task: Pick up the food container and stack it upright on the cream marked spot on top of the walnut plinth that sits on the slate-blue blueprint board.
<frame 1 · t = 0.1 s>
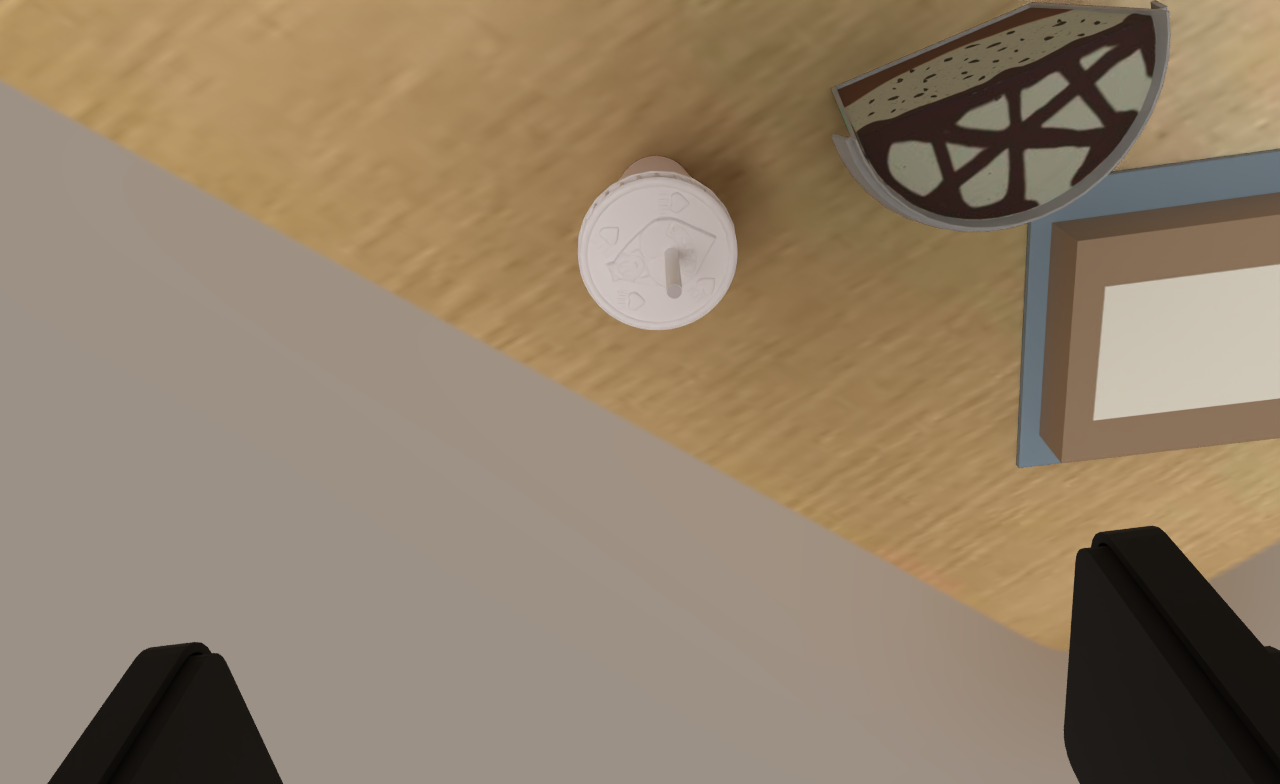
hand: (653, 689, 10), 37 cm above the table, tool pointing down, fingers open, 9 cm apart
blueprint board: (1200, 311, 47), on the table
smoothie: (655, 193, 45), on the table
food container: (945, 109, 43), on the table
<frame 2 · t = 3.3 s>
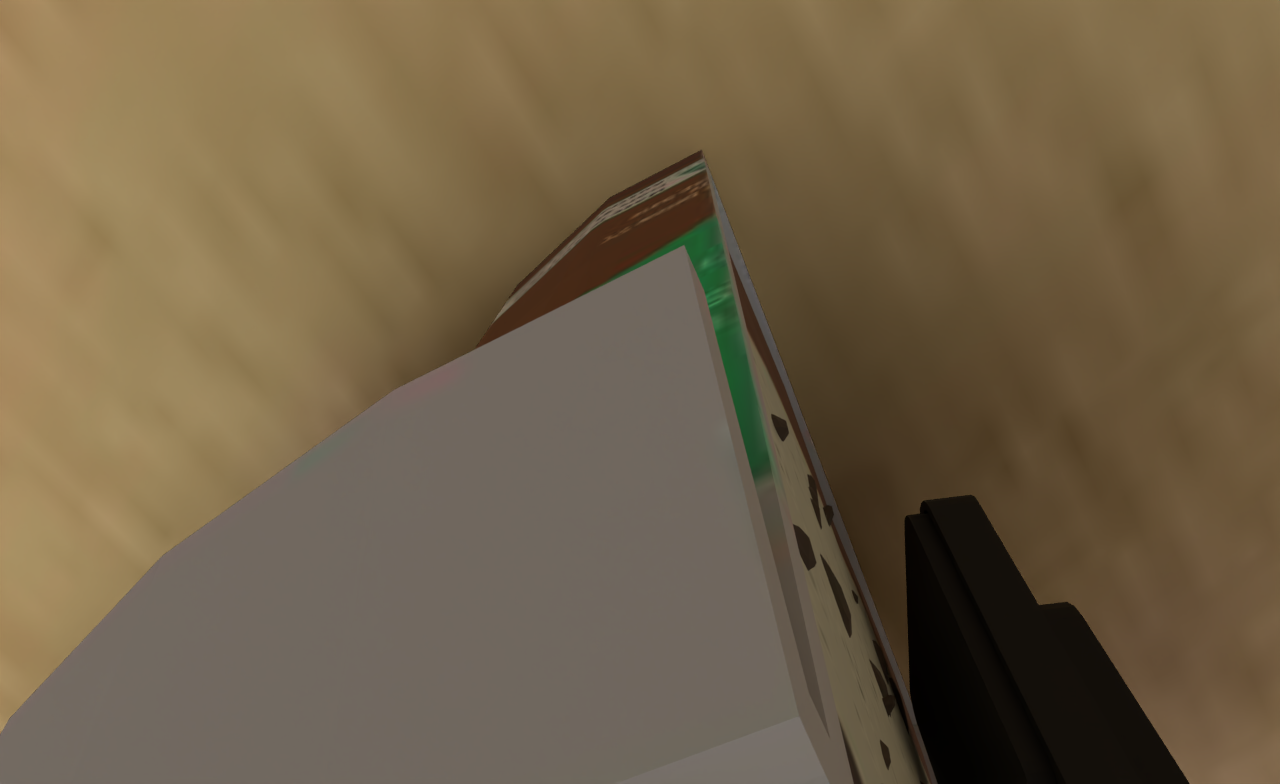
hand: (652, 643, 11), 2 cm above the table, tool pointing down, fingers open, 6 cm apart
food container: (613, 545, 13), on the table, touching gripper
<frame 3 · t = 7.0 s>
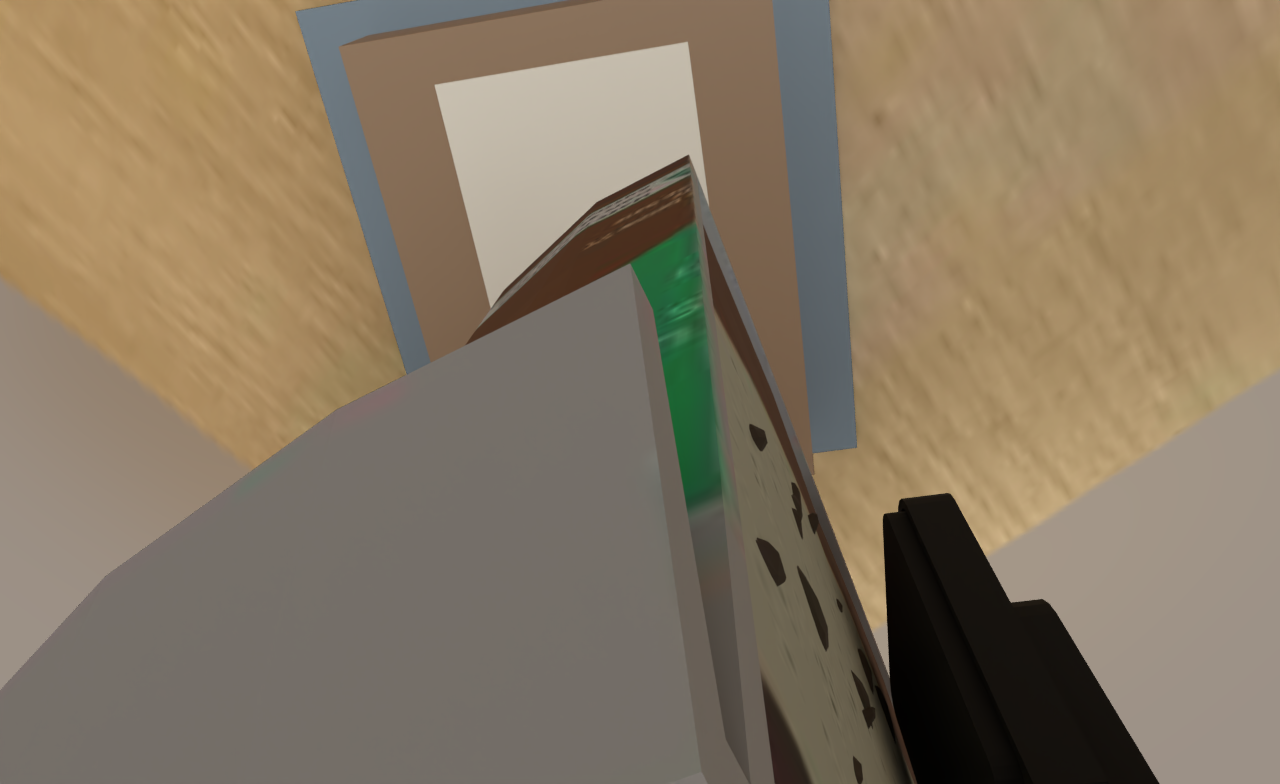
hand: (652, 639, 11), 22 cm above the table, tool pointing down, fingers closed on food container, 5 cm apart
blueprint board: (606, 249, 32), on the table
food container: (602, 551, 13), point 20 cm above the table, touching gripper
when the fingers open (7 cm above the table, at t = 10.5 s): food container drops 1 cm, resting on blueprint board.
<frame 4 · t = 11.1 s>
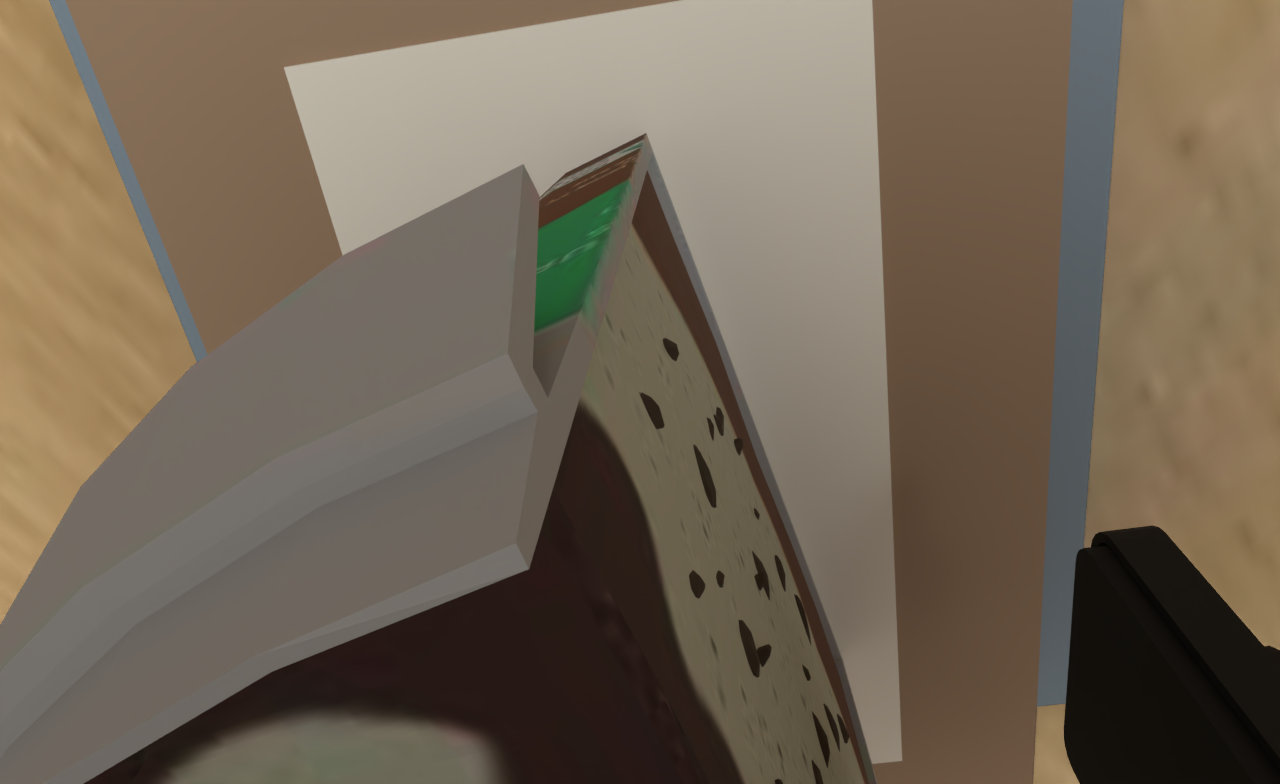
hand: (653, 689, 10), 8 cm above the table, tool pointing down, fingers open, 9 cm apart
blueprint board: (650, 379, 17), on the table
food container: (568, 488, 14), point 3 cm above the table, touching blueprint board
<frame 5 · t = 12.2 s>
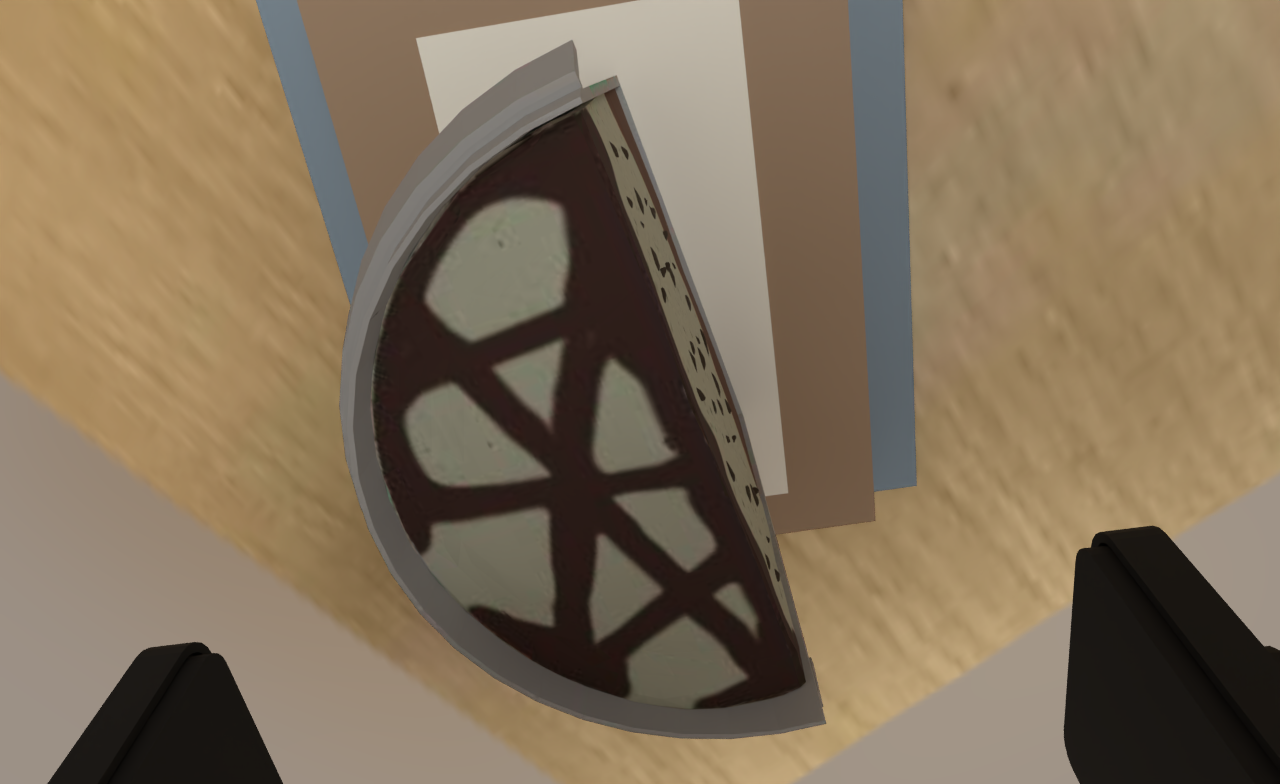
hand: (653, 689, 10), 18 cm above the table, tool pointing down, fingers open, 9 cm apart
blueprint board: (623, 250, 26), on the table
food container: (571, 299, 23), point 3 cm above the table, touching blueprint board
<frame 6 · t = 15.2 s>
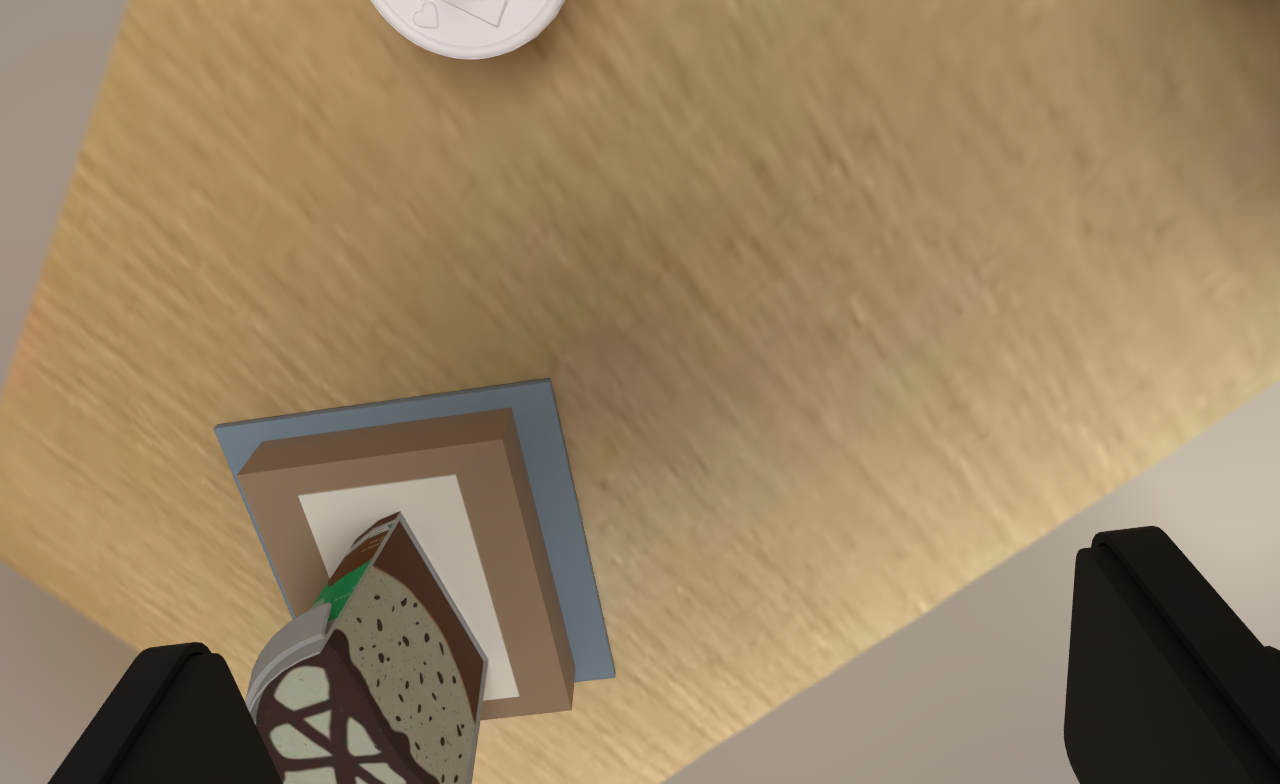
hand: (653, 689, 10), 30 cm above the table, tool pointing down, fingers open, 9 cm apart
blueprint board: (430, 557, 47), on the table
food container: (389, 604, 44), point 3 cm above the table, touching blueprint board
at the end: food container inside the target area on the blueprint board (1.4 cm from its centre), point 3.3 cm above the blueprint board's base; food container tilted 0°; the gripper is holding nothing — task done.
